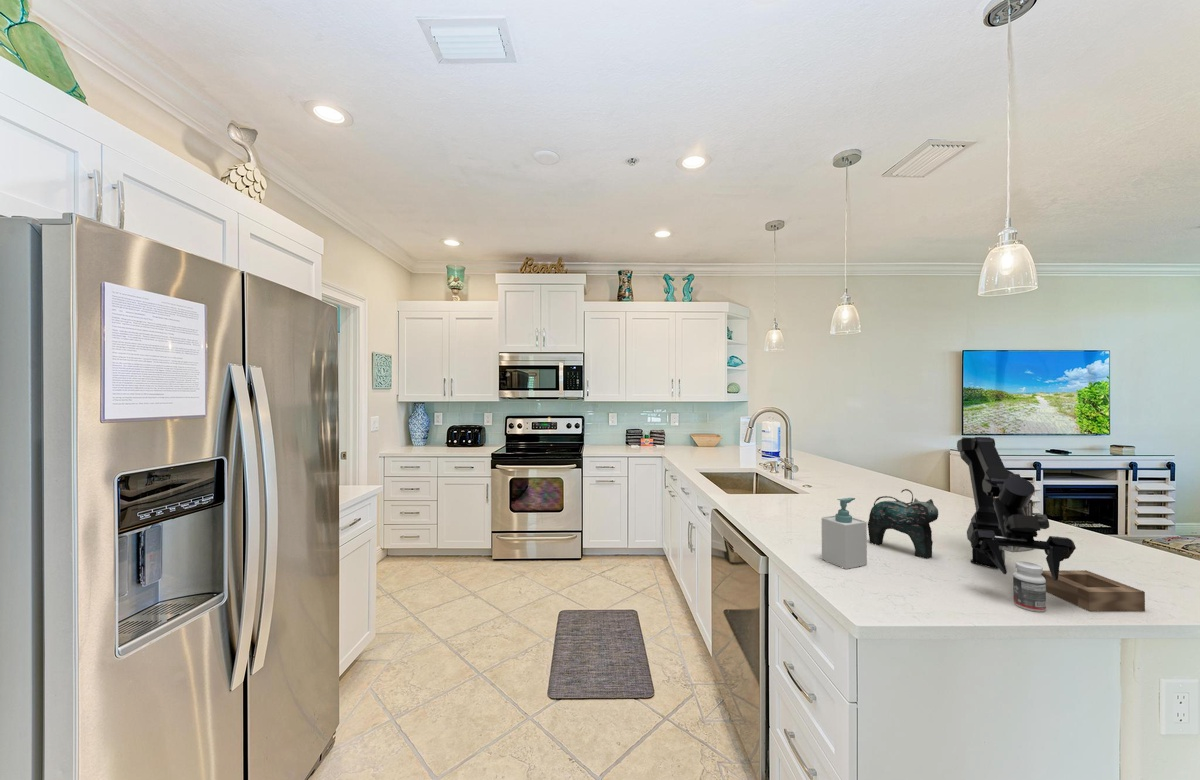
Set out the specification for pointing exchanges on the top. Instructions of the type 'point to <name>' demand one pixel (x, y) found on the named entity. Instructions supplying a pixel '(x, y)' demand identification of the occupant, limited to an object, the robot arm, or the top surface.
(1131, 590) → the walnut socket
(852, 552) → the soap bottle
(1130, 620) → the top surface
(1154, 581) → the top surface
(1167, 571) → the top surface
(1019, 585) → the pill bottle
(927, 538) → the ceramic cat
